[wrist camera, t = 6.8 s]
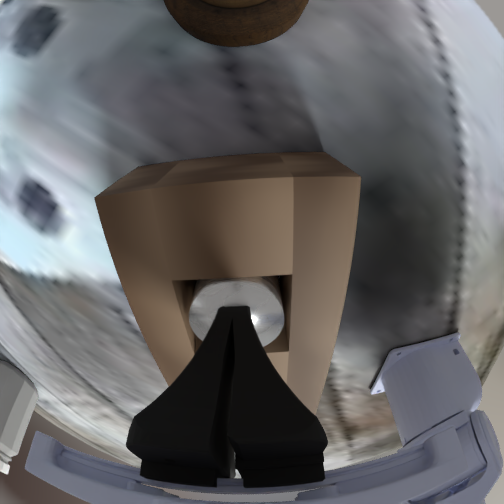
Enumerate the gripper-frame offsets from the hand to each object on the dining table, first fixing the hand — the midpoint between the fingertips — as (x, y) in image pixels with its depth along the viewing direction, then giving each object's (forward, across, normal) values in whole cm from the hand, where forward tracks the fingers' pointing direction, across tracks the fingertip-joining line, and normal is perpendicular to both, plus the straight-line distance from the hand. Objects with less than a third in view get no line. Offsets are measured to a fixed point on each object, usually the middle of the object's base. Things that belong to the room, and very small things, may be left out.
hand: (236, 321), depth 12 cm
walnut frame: (+5, 0, +5) cm, 7 cm away
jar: (+5, +39, +20) cm, 44 cm away
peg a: (+5, 0, 0) cm, 5 cm away
